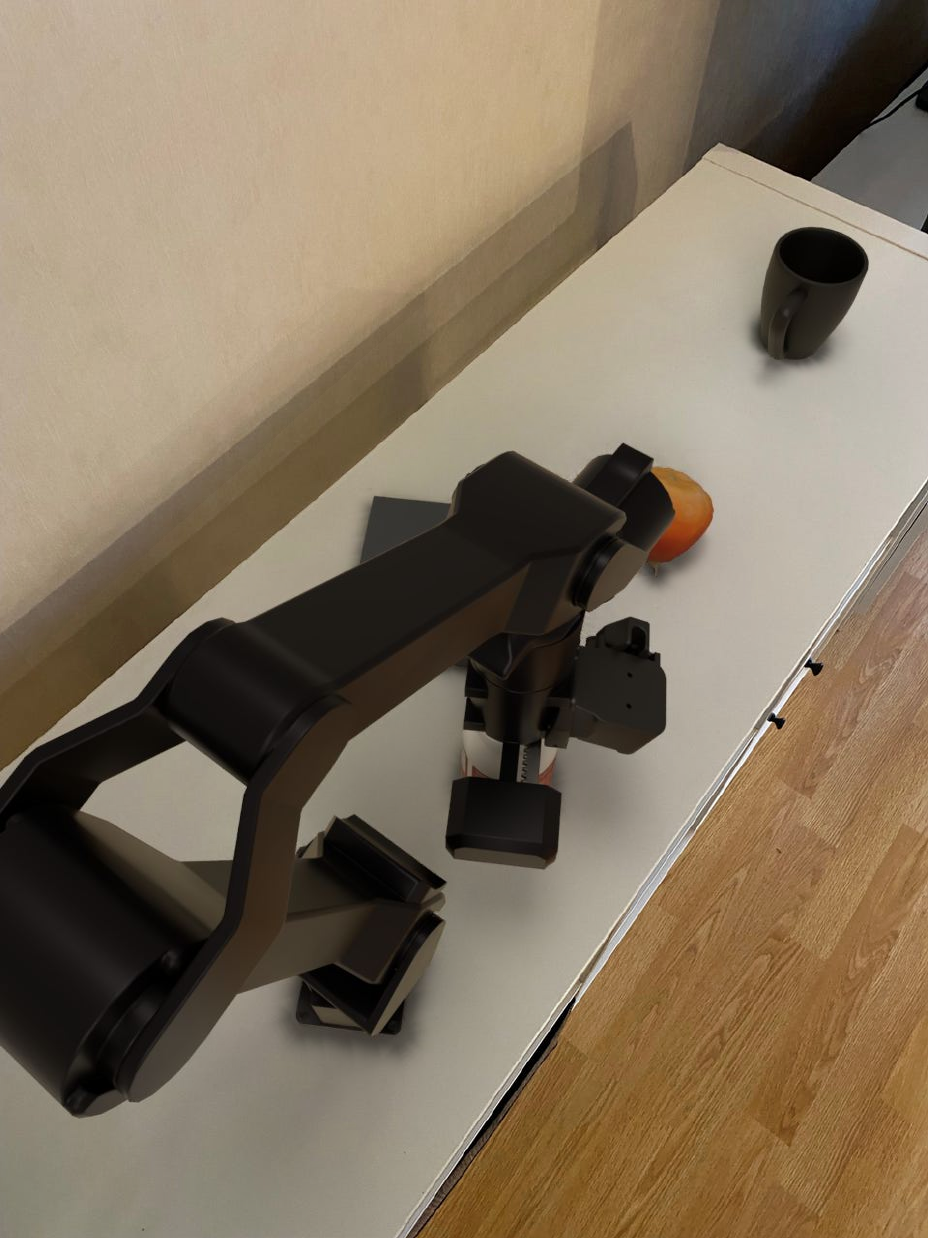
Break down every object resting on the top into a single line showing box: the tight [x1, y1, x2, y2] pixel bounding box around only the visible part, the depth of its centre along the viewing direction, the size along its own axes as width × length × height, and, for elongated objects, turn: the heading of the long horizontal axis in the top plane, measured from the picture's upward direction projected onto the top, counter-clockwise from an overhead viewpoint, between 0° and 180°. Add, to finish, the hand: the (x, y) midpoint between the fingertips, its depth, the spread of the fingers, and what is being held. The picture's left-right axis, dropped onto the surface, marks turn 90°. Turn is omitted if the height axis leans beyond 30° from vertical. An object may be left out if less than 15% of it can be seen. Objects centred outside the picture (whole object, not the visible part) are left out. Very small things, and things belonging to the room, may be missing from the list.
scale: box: [358, 495, 468, 667], centre depth 75 cm, size 14×12×4 cm
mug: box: [760, 226, 870, 361], centre depth 88 cm, size 8×12×10 cm
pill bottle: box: [460, 729, 559, 787], centre depth 63 cm, size 6×6×11 cm
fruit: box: [646, 466, 715, 578], centre depth 77 cm, size 8×8×8 cm
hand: (507, 763), depth 65 cm, fingers open, 8 cm apart
